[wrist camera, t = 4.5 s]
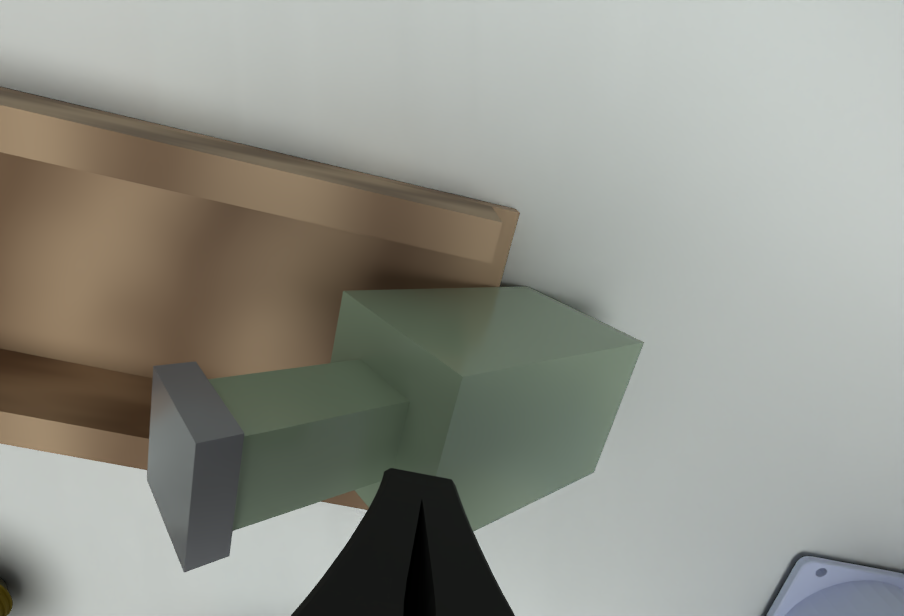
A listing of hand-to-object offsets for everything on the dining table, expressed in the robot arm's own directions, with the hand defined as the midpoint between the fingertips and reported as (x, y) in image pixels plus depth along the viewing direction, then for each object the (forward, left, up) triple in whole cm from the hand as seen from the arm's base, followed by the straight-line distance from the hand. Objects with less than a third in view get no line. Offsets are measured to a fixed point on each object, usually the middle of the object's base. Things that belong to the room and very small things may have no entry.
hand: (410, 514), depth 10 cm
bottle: (-5, 0, -8) cm, 10 cm away
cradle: (+8, 0, -10) cm, 13 cm away
